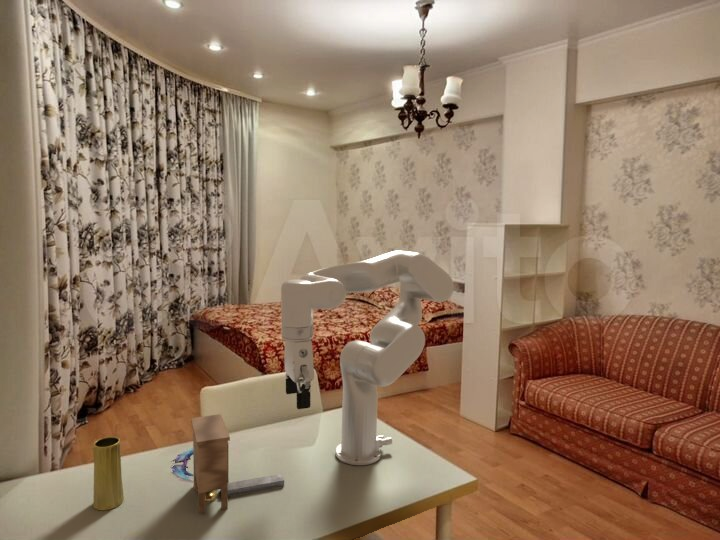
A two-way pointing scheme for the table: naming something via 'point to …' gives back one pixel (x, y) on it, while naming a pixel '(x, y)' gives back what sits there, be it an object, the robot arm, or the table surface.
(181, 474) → the decorative blades
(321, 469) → the table surface
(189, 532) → the table surface
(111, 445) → the vase
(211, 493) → the token
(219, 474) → the cabinet
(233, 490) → the bar
